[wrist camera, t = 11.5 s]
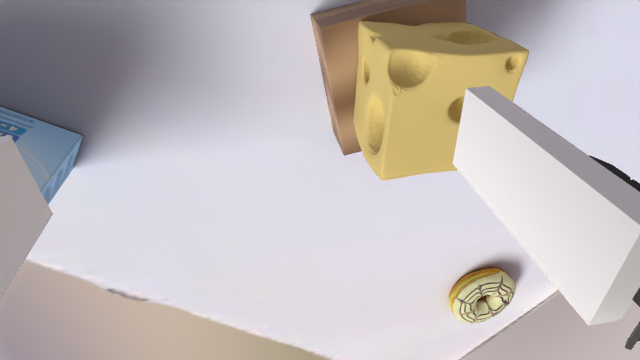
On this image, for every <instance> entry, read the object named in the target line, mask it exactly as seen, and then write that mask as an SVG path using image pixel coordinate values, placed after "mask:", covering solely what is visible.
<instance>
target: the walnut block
mask: <svg viewBox="0 0 640 360" xmlns="http://www.w3.org/2000/svg"><path fill="white" fill-rule="evenodd" d="M310 15H311V20H312V25H313V30H314V35H315V41H316V46H317V51H318V56H319V61H320V66H321V71H322V76H323V81H324V86H325V91H326V96H327V101H328V107H329V112H330V117H331V122H332V127H333V132H334V134H335V136H336V138H337V141H338V143H339V145H340V147H341V150H342V152H343V154H344V155H348V154H352V153H356V152H360V151H362V150H361V147H360V144H359V142H358V139H357V136H356V131H355V127H354V123H353V120H354V108H355V96H356V83H357V70H358V26H359V22H360V21H370V22H384V23H398V24H402V25H407V26H418V25H421V24H424V23H440V22H466V0H367V1H363V2H358V3H354V4H350V5H346V6H342V7H338V8H334V9H330V10H326V11H322V12H318V13H314V14H310Z"/></svg>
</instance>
